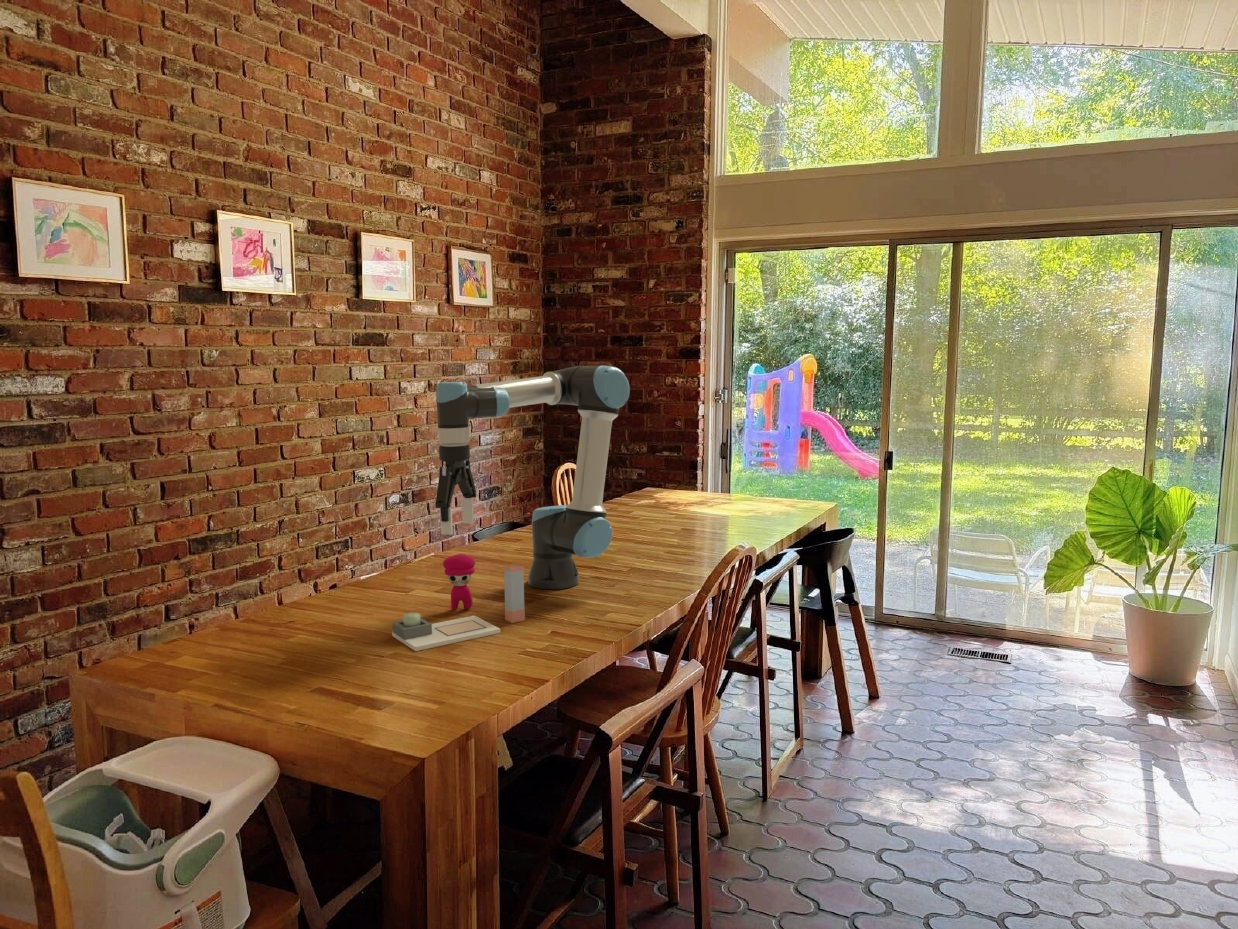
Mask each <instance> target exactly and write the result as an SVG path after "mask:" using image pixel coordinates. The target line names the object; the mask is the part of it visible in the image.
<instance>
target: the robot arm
mask: <svg viewBox="0 0 1238 929" xmlns="http://www.w3.org/2000/svg"><path fill="white" fill-rule="evenodd" d="M630 388H631V387H630V383H629V380H628V378H627V377H626V375H625V373H624V371H622V370H621V369H620V368H618V367H616V366H610V365H609V366H608V365H604V364H603V365H575V366H571V367H566V368H563V369H559V370H553V371H546V372H545V373H544V374H543V375H542V376H534V377H526V378H518V379H511V380H510V379H509V380H504V381H503V380H502V381H493V382H487V383H486V382H485V383H478V384H472V385H471V384H470V385H467V383H466V382H465V381H442V382H439V383H437V385H436V390H435V397H436V398H435V403H436V414H437V417H436V418H437V431H436V434H437V435H438V444H440V445H439V446H438V456H439V457H438V458H439V460H440V461H442V462H444V463H445V466H440V467H439V473H438V474H439V476H438V483H437V484H438V485H437V491H436V498H435V505H434V506H435V508H436V509H439V512H440V513H439V515H440V533H441V535H446V536H447V535H450V536H452V535H453V534H454V532H453V531H454V529H453V509H452V507H451V504H452V499H453V497H454V496H453V495H454V491H455V487H456V486H458V487H459V489H460V492H461V495H462V496H463V497H462V498H461V514H462V524H474V498H477V490H476V489H477V488H476V484H475V481H474V477H473V473H472V470H471V461H470V458H471V449H470V445H469V443H470V440H471V439H470V427H469V425H470V424H469V420H472V419H484V418H485V419H486V418H497V417H503V416H505V415H507V413H508V412H509V410H510V408H517V407H523V406H524V407H525V406H529V405H531V406H532V405H538V404H544V403H546V404H547V405H549V406H554V405H568V406H569V405H570V406H577V412H578V414H579V415H580V416H581V423H580V425H581V426H580V432H579V433H580V434H579V440H578V450H577V458H576V465H575V466H576V467H575V473H574V481H573V482H574V483H573V488H572V489H573V491H572V499H571V501H570V502H569V503H568V504H562V505H551V506H543V507H537V508H535V509H534V510H533V511H532V519H531V520H532V521H531V524H532V527H531V529H532V554H533V555H532V556H533V557H532V561H531V565H530V568H529V572H528V575H527V584H528V586H529V587H531V588H535V589H540V590H562V589H568V588H572V587H575V586H576V585H578V584H579V582H580V576H579V575H580V574H579V572H578V571H579V570H578V569H577V568H578V567H577V566H576V563H575V560H574V558H573V555H575V556H577V557H580V558H589V559H593V558H597V557H600V556H601V555H602V554H603V553H604V552H605V551H607V549H608V547H609V546H610V545H611V542H612V539H613V527H612V526H611V523H610V521H609V520H607V510H606V508H605V507H604V506H603V500H604V490H605V483H606V474H607V467H608V466H607V465H608V458H609V452H610V451H609V450H610V441H611V433H612V426H613V421H614V420H615V419H617V418H618V417H619V413H620V408H622V407H623V406H625V404H626V403H627V402H628V400H629V398H630V392H631V391H630Z"/></svg>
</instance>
